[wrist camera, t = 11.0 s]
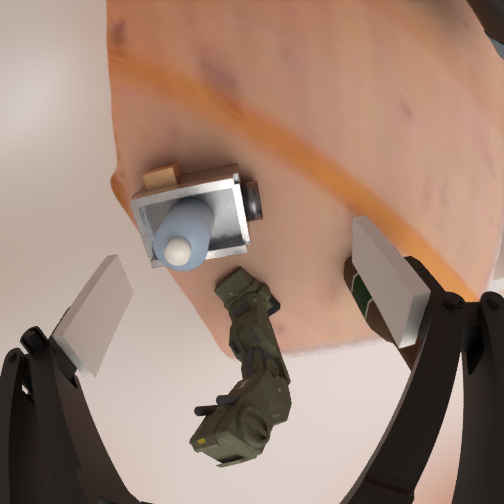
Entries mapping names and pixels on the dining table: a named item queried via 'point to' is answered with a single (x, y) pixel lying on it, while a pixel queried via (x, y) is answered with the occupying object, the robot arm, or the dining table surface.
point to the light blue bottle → (184, 235)
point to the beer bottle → (375, 313)
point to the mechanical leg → (246, 377)
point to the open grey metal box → (209, 192)
